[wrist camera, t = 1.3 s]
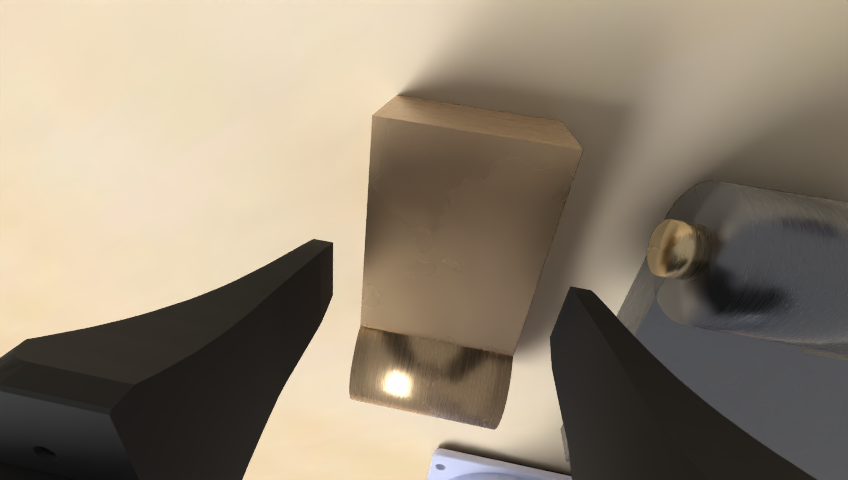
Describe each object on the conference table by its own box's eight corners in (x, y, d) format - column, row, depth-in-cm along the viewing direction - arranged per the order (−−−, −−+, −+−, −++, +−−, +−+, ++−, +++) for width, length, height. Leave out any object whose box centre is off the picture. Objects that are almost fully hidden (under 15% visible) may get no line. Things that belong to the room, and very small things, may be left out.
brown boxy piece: (488, 365, 17) (488, 454, 13) (376, 342, 17) (348, 423, 14) (561, 120, 12) (592, 163, 8) (397, 94, 12) (360, 124, 8)
